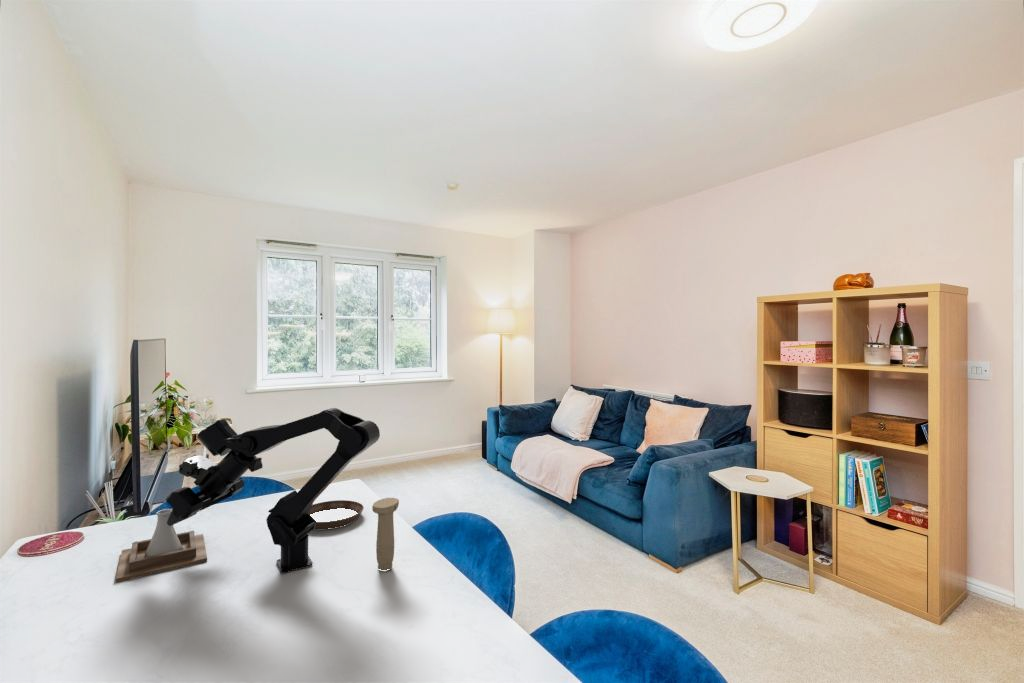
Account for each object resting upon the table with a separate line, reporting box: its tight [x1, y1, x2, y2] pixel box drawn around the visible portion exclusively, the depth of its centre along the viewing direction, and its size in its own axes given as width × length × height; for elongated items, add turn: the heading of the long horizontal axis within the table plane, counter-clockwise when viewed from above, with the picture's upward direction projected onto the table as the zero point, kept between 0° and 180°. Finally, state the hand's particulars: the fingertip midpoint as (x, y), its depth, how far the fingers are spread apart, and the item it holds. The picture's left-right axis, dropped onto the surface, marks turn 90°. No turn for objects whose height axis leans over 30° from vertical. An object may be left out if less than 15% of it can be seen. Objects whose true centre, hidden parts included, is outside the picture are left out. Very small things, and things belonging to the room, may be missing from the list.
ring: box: [309, 499, 364, 530], centre depth 131 cm, size 18×18×3 cm
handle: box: [371, 497, 400, 570], centre depth 104 cm, size 5×6×15 cm
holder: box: [115, 530, 208, 583], centre depth 108 cm, size 16×16×3 cm
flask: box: [145, 508, 183, 557], centre depth 108 cm, size 7×7×10 cm
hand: (184, 516), depth 107 cm, fingers open, 9 cm apart
